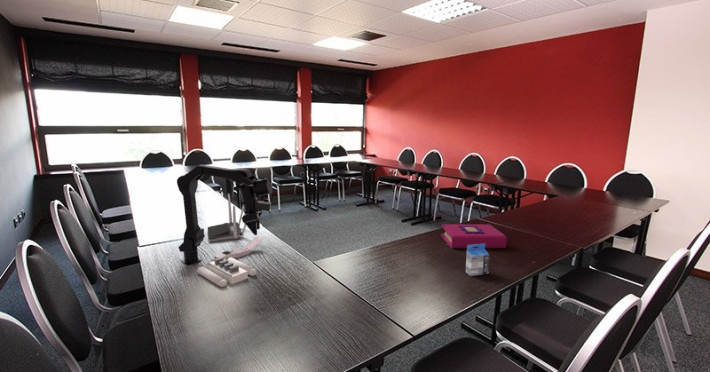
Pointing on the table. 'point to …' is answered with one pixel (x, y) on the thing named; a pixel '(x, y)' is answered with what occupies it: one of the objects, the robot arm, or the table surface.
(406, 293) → the table surface
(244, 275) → the breaker strip
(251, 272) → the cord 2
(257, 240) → the mobile phone
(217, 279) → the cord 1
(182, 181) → the robot arm
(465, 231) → the book
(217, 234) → the wireless router
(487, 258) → the label tape box
